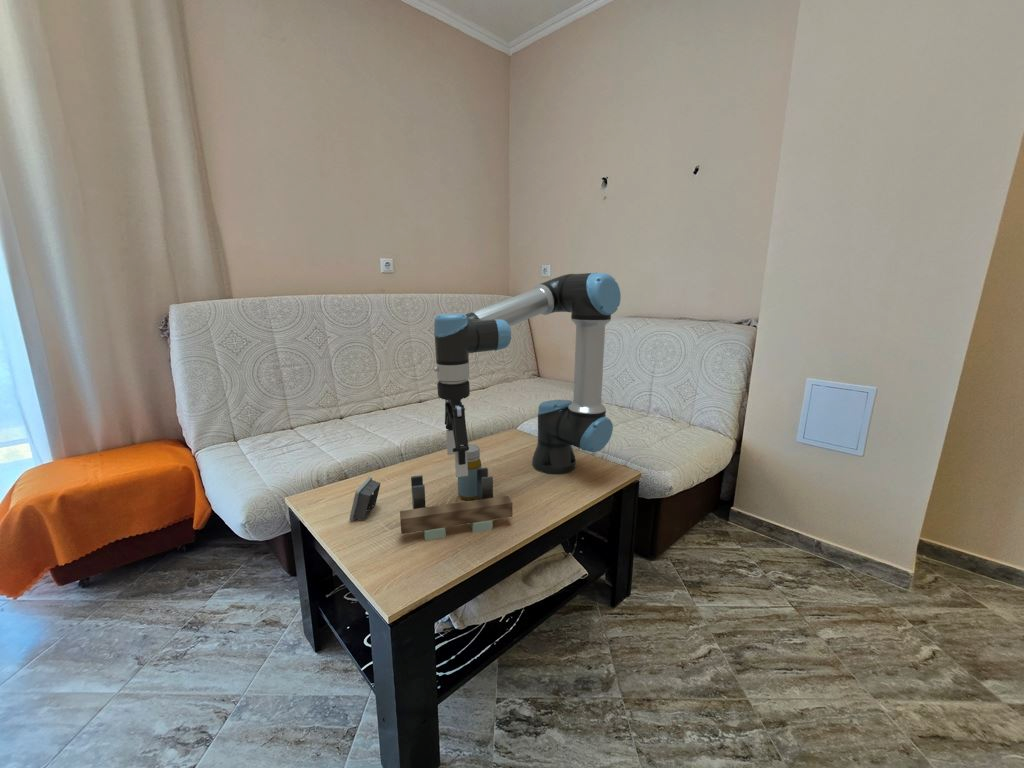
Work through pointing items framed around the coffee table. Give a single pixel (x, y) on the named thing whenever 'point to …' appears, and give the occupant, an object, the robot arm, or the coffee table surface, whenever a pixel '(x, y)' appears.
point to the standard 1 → (418, 492)
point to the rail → (455, 514)
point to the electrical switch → (364, 499)
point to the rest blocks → (440, 534)
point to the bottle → (470, 474)
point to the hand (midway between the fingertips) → (457, 464)
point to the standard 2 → (484, 484)
